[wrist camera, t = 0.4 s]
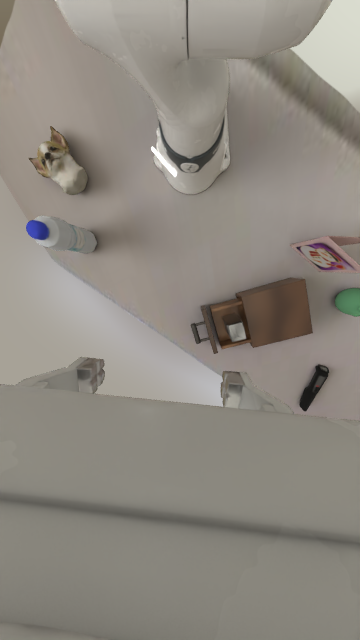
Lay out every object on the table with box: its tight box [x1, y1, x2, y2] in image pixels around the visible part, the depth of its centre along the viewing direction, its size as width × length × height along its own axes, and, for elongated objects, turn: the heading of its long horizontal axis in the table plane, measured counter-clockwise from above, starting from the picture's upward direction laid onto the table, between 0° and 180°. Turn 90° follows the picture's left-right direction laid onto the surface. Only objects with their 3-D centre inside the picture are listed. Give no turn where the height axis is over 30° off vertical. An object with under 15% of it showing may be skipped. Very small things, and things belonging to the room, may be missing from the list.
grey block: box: [222, 313, 247, 342], centre depth 52 cm, size 4×4×10 cm
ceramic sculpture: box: [29, 126, 87, 195], centre depth 46 cm, size 11×9×15 cm
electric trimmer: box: [300, 365, 329, 411], centre depth 61 cm, size 4×16×3 cm, turn 164°
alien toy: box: [335, 288, 360, 317], centre depth 50 cm, size 7×8×10 cm
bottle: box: [26, 216, 97, 253], centre depth 45 cm, size 7×7×20 cm
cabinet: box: [236, 278, 313, 348], centre depth 53 cm, size 16×15×7 cm
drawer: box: [191, 298, 251, 354], centre depth 55 cm, size 19×13×5 cm
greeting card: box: [290, 236, 360, 273], centre depth 45 cm, size 11×7×15 cm, turn 53°
